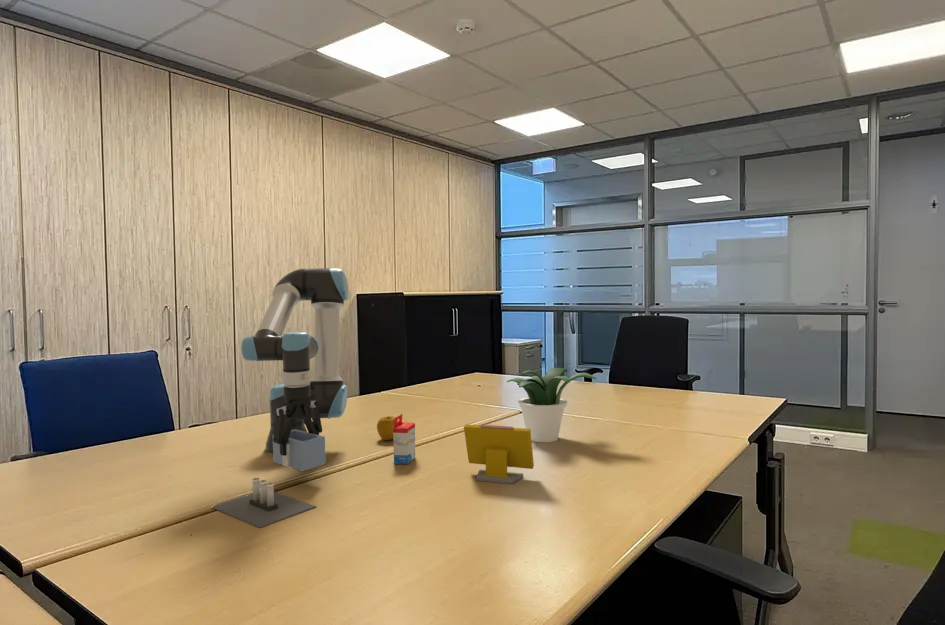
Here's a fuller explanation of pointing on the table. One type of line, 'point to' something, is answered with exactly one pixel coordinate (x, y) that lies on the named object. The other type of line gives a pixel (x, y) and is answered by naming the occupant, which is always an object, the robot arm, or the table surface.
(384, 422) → the apple
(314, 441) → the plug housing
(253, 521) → the header
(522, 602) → the table surface
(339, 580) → the table surface
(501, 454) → the yellow framed monitor
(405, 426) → the ink box
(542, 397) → the potted plant
